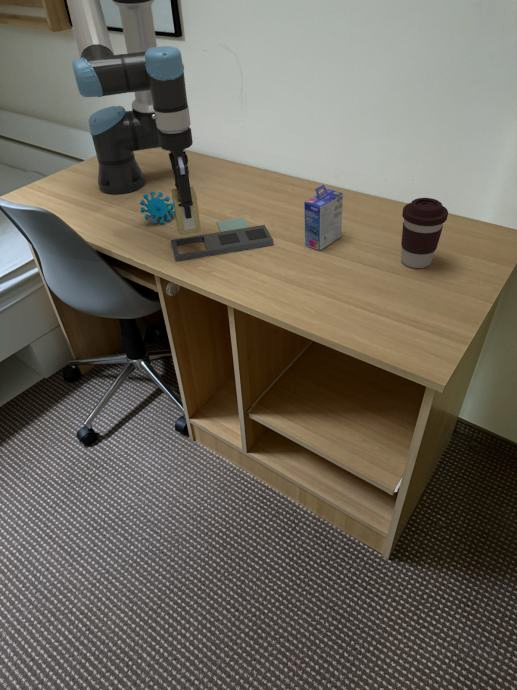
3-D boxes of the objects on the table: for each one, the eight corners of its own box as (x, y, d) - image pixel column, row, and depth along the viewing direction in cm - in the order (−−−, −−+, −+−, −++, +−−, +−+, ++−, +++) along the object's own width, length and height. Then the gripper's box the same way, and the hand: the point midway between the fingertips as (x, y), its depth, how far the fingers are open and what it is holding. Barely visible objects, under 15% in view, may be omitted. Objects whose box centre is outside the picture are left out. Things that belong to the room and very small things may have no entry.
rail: (171, 244, 133) (170, 239, 132) (264, 229, 137) (264, 224, 136) (175, 261, 126) (174, 256, 125) (273, 245, 131) (273, 239, 130)
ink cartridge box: (325, 230, 135) (327, 178, 126) (342, 236, 132) (345, 184, 123) (302, 245, 130) (303, 192, 120) (319, 251, 127) (322, 197, 118)
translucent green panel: (216, 222, 142) (216, 221, 141) (243, 218, 143) (243, 217, 143) (221, 235, 136) (221, 234, 135) (250, 231, 137) (250, 229, 137)
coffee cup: (429, 276, 116) (442, 217, 106) (389, 265, 120) (397, 208, 111) (442, 256, 122) (455, 199, 113) (403, 247, 127) (412, 191, 117)
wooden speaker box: (176, 226, 129) (170, 188, 122) (197, 222, 129) (192, 185, 123) (179, 236, 125) (173, 197, 118) (201, 232, 125) (196, 194, 119)
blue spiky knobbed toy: (146, 225, 139) (136, 191, 139) (142, 233, 144) (132, 201, 145) (183, 219, 144) (172, 187, 144) (177, 227, 149) (167, 196, 150)
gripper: (153, 117, 117) (169, 209, 132) (161, 144, 103) (178, 242, 118) (184, 113, 118) (196, 205, 133) (197, 139, 104) (208, 237, 120)
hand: (187, 222), depth 126 cm, fingers closed on wooden speaker box, 5 cm apart
